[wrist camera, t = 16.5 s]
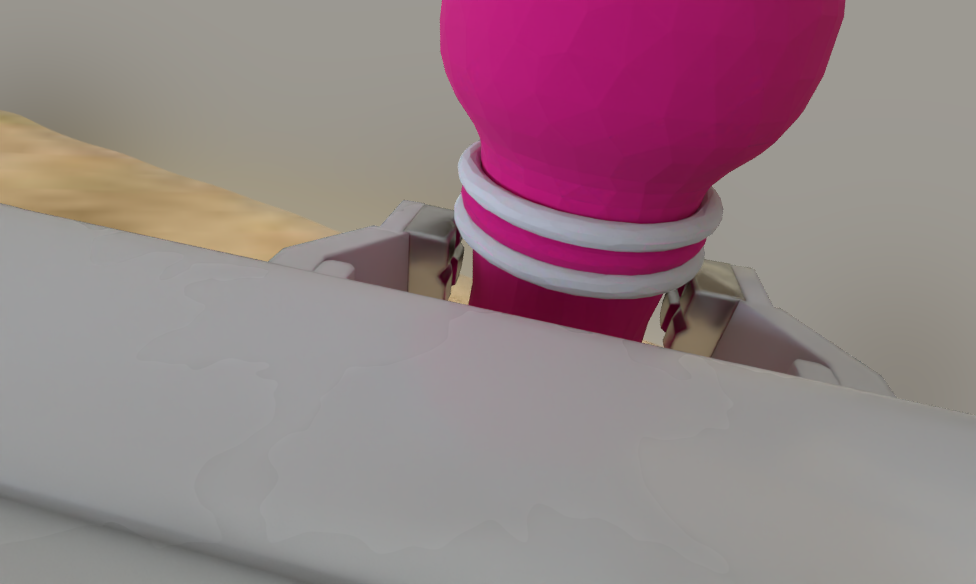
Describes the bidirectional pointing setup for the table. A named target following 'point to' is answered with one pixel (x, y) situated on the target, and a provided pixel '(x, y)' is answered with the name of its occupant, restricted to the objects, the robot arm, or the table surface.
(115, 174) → the table surface
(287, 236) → the table surface
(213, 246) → the table surface
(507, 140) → the pepper mill
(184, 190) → the table surface
